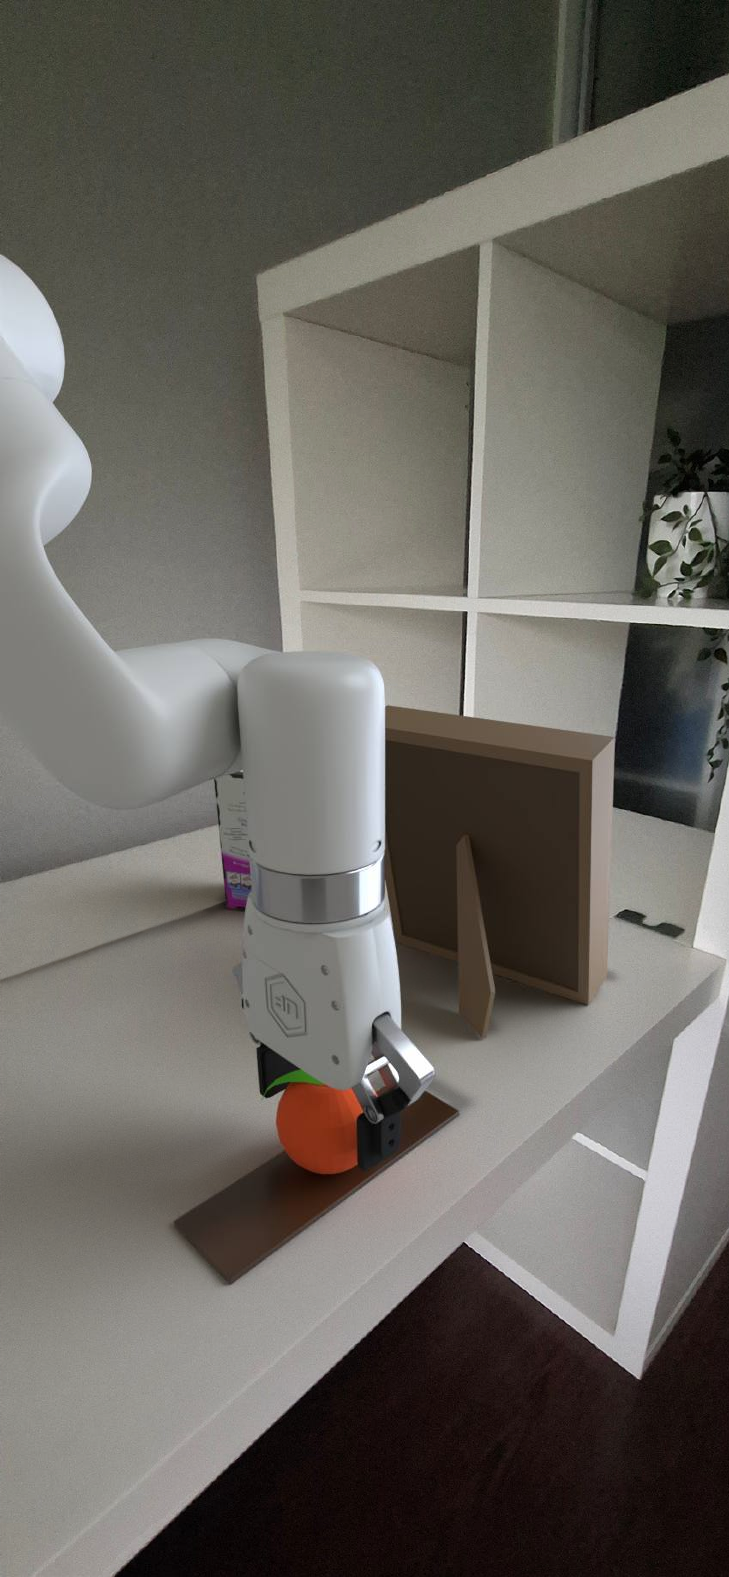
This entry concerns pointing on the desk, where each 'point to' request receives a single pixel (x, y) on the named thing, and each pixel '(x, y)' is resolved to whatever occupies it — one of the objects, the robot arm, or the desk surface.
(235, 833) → the candy bar box
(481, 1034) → the photo frame
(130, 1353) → the desk surface
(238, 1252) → the edge strip
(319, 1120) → the clementine
